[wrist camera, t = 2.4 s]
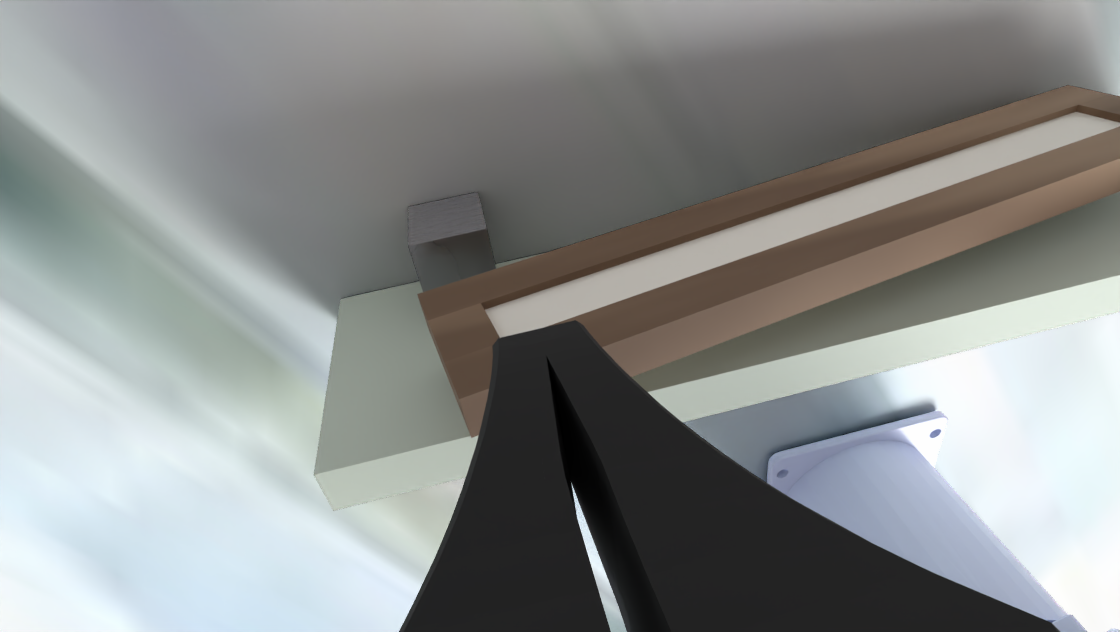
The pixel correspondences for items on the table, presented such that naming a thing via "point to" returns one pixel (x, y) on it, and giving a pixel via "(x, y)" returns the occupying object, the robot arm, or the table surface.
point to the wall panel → (703, 377)
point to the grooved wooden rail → (787, 241)
